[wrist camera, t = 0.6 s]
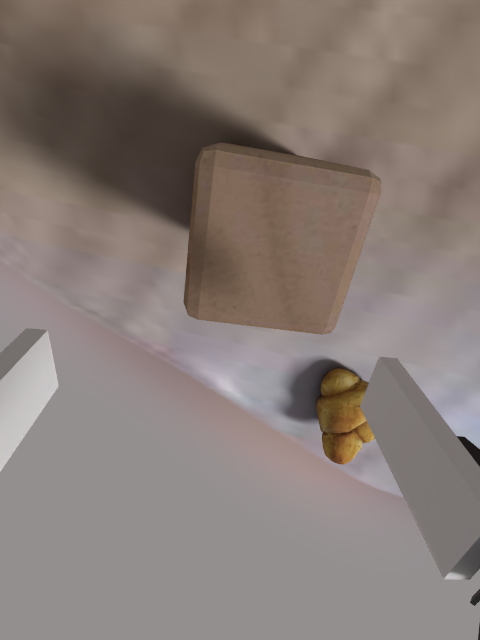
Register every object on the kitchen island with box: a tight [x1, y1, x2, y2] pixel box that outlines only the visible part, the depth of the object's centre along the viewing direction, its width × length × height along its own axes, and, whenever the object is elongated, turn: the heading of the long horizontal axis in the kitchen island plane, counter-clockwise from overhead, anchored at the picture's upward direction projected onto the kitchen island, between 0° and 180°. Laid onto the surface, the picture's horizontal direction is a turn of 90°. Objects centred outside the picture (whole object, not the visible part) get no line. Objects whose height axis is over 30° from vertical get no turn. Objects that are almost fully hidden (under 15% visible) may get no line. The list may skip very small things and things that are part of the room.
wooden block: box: [184, 142, 381, 334], centre depth 27 cm, size 10×10×20 cm
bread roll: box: [316, 368, 375, 464], centre depth 46 cm, size 13×10×8 cm
